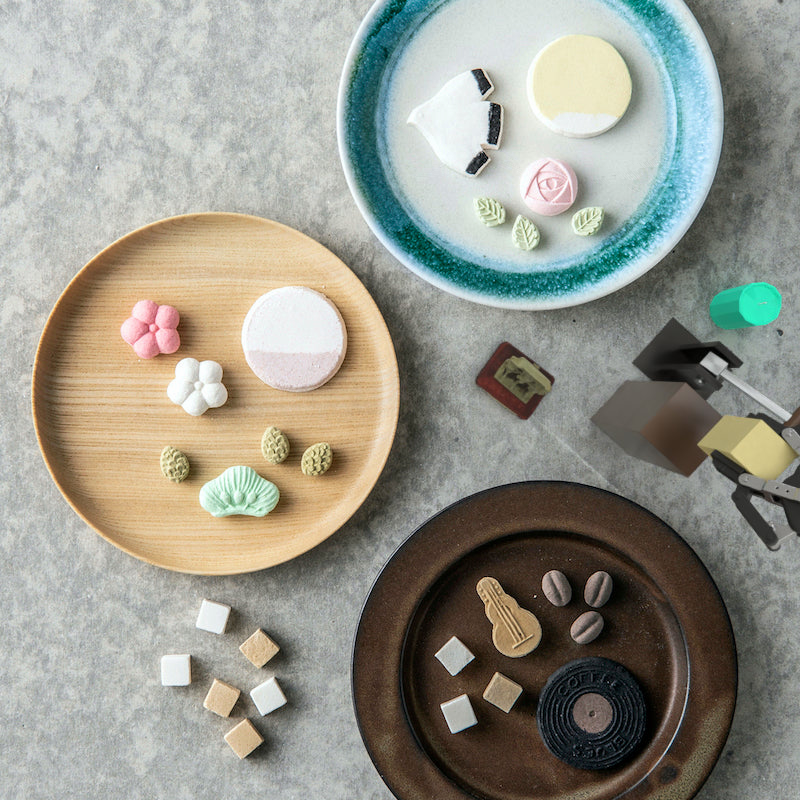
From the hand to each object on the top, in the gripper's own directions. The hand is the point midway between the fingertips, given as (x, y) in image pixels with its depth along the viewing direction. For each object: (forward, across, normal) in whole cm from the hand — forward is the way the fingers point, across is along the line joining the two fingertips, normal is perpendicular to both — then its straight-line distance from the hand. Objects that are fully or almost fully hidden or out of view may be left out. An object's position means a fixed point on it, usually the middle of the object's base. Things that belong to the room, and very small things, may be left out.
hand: (731, 437), depth 72 cm
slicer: (+25, -11, +26) cm, 37 cm away
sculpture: (+37, +8, +14) cm, 40 cm away
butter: (+2, 0, +4) cm, 4 cm away
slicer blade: (+11, -11, +21) cm, 26 cm away
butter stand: (+25, 0, +25) cm, 36 cm away
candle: (+25, -22, +26) cm, 42 cm away
